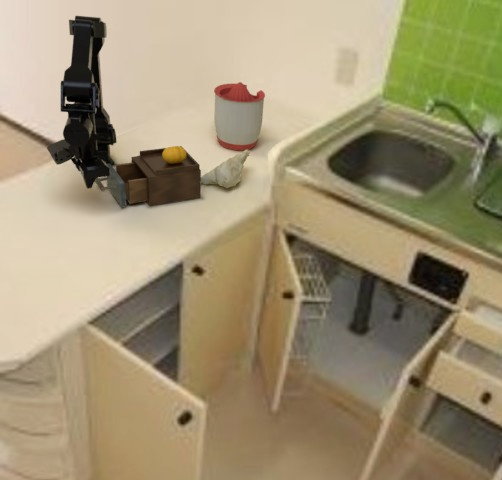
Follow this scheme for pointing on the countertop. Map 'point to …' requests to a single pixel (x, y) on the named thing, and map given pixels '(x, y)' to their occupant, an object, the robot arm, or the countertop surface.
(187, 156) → the dark brown shallow tray
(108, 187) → the drawer
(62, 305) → the countertop surface
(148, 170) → the cabinet
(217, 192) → the countertop surface
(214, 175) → the white conch shell
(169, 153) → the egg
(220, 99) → the citrus juicer
